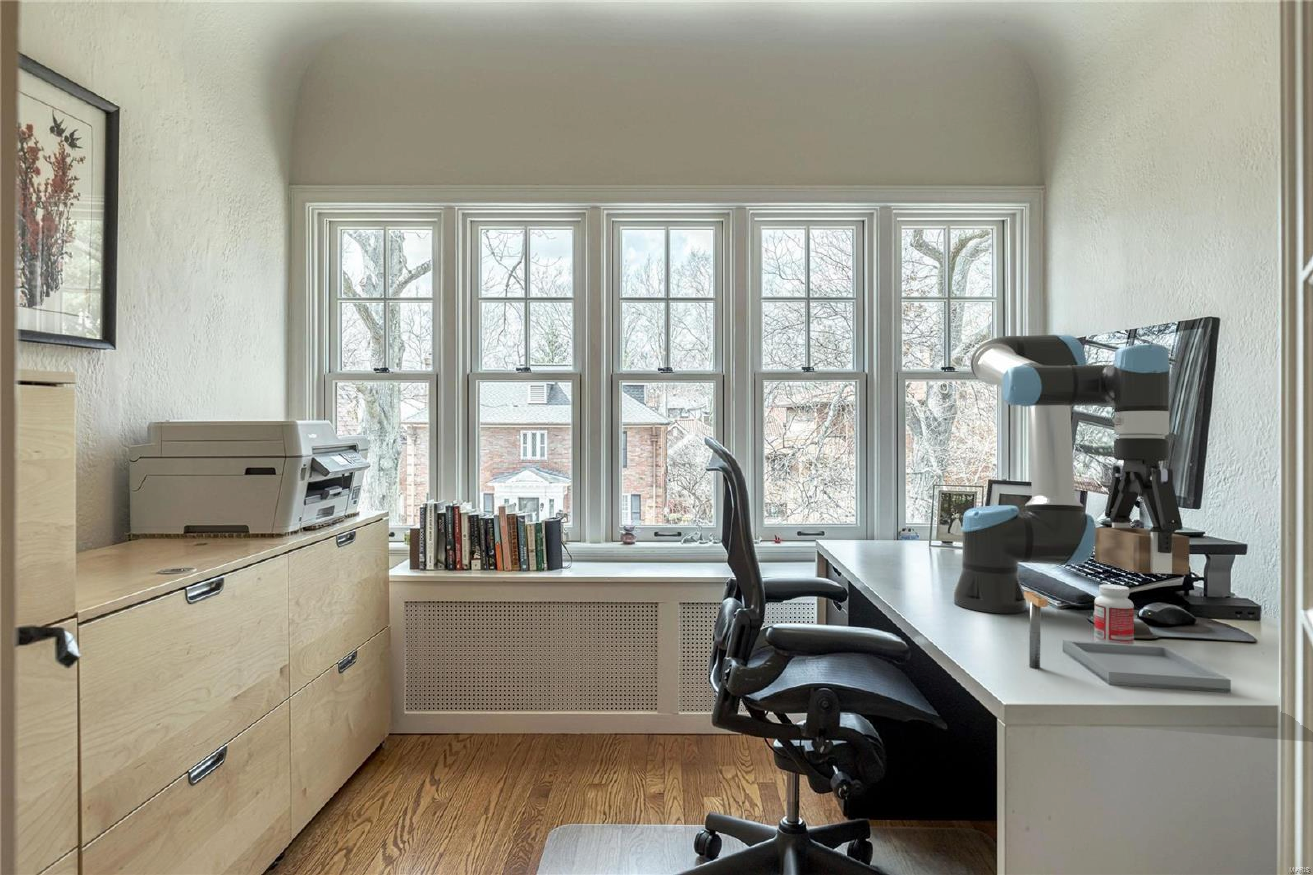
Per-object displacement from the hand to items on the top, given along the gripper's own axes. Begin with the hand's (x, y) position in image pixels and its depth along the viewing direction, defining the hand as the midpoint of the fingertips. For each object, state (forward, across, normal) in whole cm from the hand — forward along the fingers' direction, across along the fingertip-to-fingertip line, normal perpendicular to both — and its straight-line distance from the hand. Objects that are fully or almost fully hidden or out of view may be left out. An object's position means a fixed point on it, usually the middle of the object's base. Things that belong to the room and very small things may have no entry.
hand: (1140, 566), depth 112 cm
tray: (+18, 0, 0) cm, 18 cm away
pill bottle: (+18, -15, +3) cm, 24 cm away
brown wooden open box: (0, 0, 0) cm, 0 cm away
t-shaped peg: (+18, +2, -17) cm, 25 cm away
